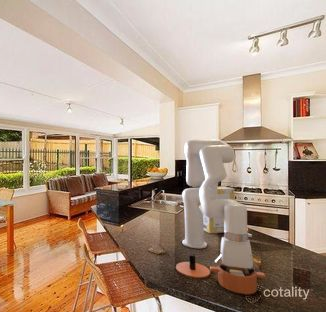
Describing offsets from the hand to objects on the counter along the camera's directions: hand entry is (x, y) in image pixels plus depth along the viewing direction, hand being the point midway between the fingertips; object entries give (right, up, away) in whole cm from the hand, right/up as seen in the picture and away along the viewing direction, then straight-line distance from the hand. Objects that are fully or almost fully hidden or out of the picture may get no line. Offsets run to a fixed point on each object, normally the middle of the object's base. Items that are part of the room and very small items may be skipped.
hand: (236, 283), depth 88 cm
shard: (-21, -2, +34) cm, 41 cm away
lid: (-12, -1, +12) cm, 17 cm away
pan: (0, -1, 0) cm, 1 cm away
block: (0, 0, 0) cm, 0 cm away
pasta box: (+29, -1, +66) cm, 72 cm away
